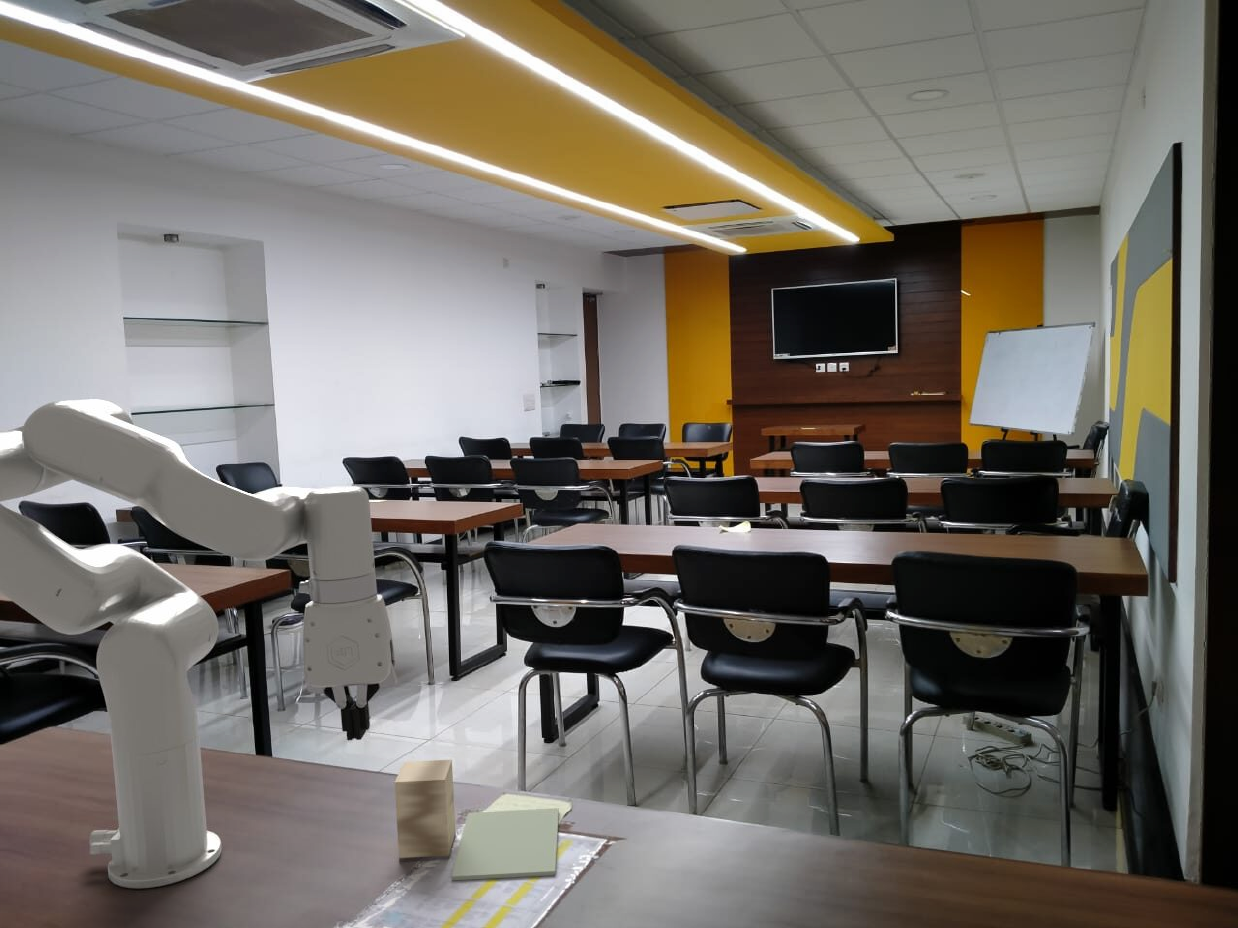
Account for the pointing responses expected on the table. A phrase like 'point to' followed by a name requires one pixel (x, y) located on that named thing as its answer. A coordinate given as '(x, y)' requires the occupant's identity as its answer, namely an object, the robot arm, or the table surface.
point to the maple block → (425, 810)
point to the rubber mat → (508, 844)
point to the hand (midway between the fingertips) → (356, 735)
